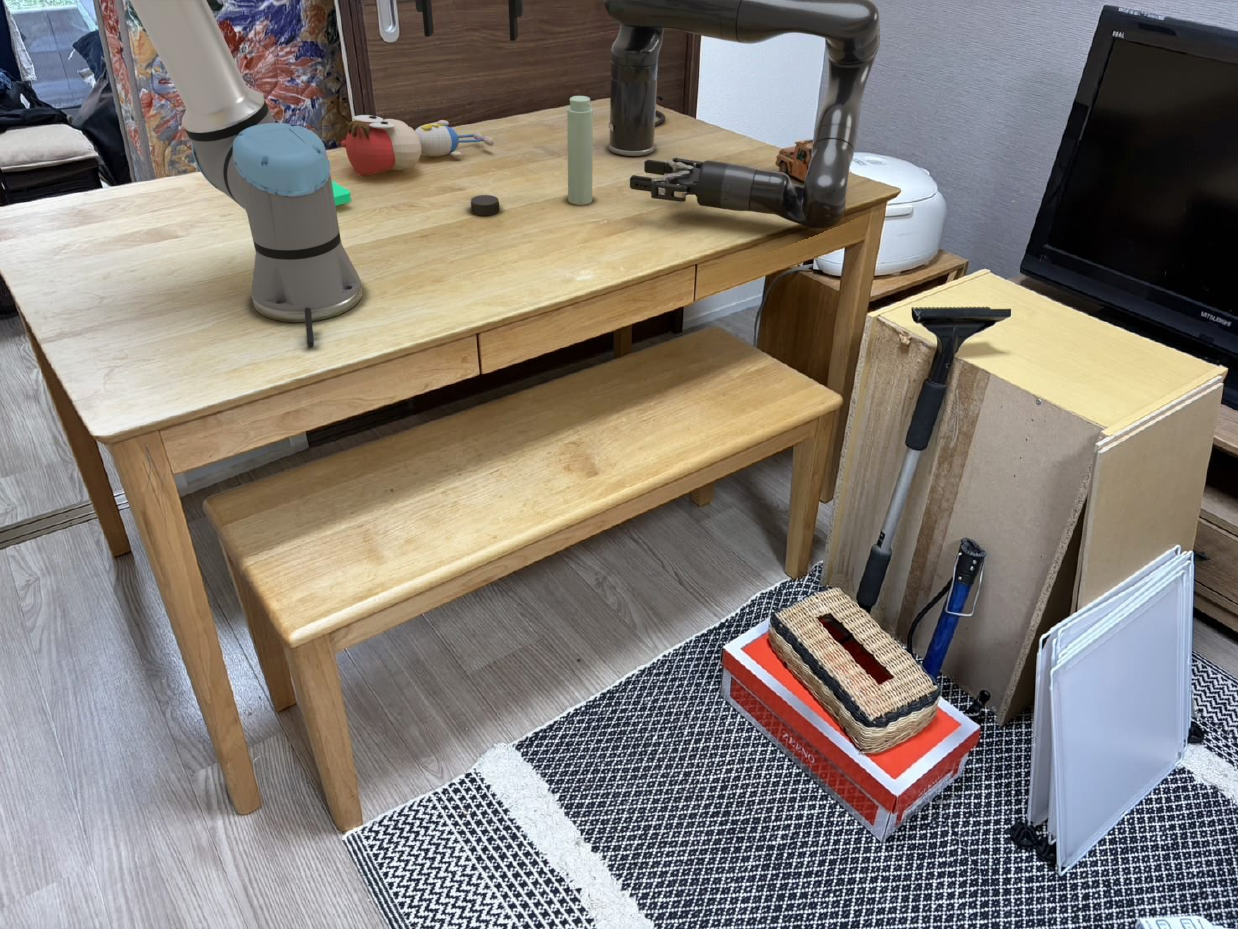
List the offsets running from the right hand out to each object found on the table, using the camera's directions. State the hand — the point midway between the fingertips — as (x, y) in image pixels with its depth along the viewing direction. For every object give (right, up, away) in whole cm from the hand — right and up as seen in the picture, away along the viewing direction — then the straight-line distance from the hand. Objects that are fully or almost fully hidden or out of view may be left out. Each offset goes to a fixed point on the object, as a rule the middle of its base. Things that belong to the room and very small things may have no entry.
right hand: (637, 173), depth 162 cm
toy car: (+33, +5, +19) cm, 38 cm away
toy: (-42, +9, +20) cm, 48 cm away
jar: (-10, -3, +6) cm, 13 cm away
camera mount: (-57, -5, +2) cm, 57 cm away
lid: (-27, -5, 0) cm, 27 cm away
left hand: (-27, +17, -16) cm, 35 cm away
